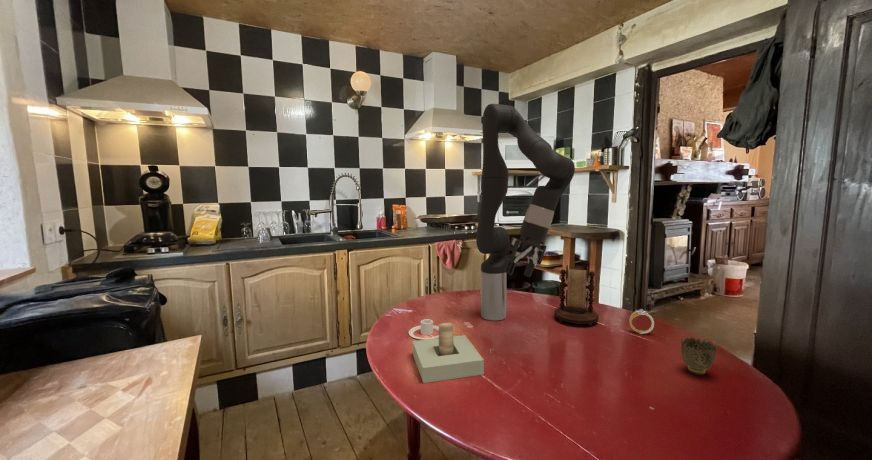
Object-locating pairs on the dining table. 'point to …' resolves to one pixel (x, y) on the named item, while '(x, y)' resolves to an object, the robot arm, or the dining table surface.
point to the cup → (698, 355)
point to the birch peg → (445, 339)
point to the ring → (642, 312)
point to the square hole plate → (447, 360)
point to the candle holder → (424, 329)
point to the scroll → (576, 297)
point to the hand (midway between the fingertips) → (517, 275)
